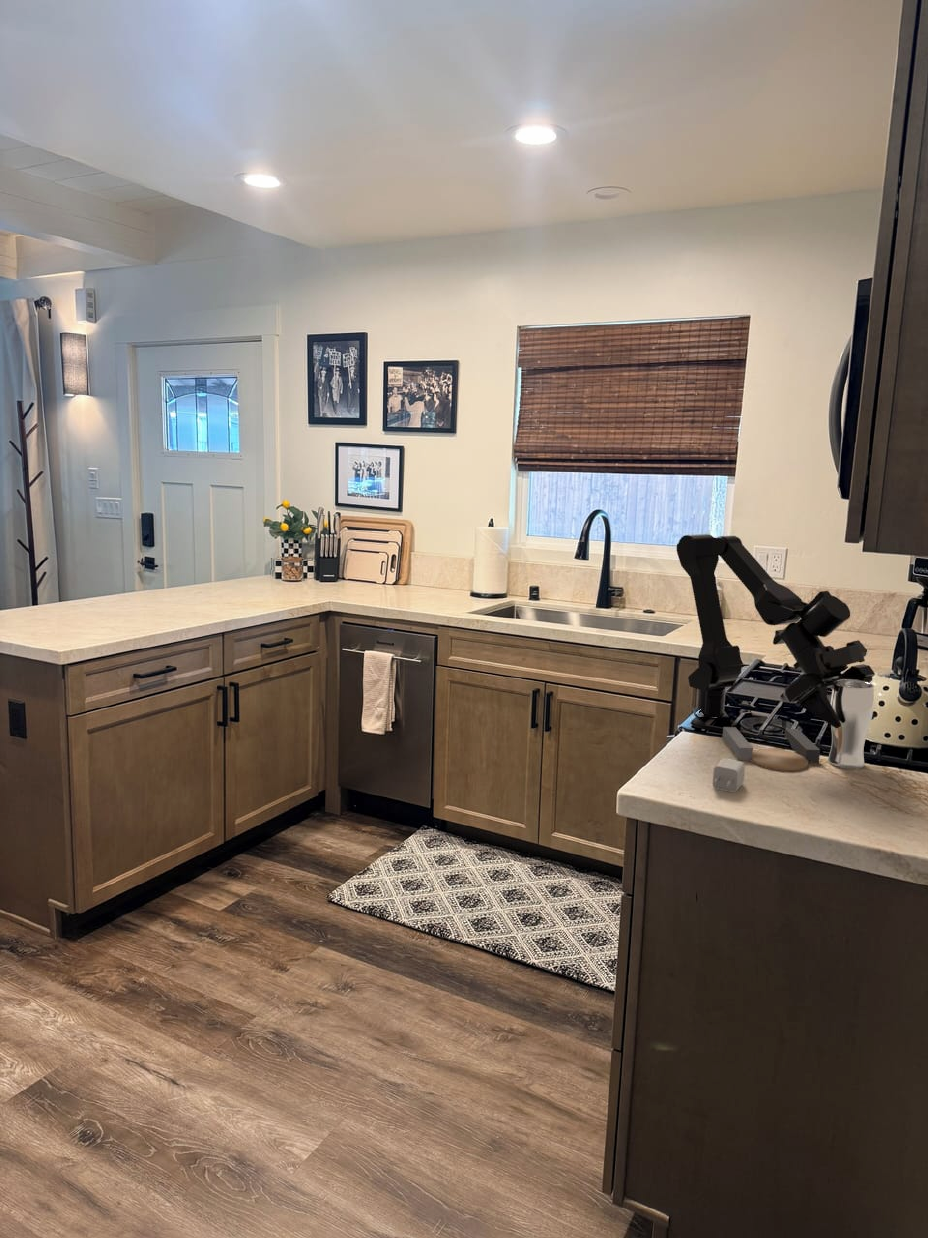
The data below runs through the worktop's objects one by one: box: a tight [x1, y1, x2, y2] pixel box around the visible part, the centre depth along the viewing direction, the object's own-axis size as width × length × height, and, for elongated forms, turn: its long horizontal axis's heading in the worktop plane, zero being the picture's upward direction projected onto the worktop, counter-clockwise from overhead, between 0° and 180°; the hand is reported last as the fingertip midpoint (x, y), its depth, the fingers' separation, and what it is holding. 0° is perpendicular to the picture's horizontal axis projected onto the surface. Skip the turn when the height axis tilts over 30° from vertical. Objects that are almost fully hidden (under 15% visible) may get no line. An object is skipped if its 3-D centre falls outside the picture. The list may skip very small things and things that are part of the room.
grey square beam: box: [721, 726, 754, 762], centre depth 158 cm, size 12×2×2 cm, turn 177°
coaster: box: [751, 748, 809, 772], centre depth 152 cm, size 10×10×1 cm
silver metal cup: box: [827, 679, 875, 770], centre depth 150 cm, size 7×7×15 cm
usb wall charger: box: [712, 758, 746, 793], centre depth 139 cm, size 4×7×4 cm, turn 148°
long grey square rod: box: [784, 728, 821, 763], centre depth 157 cm, size 12×2×2 cm, turn 177°
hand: (855, 723), depth 149 cm, fingers open, 9 cm apart
